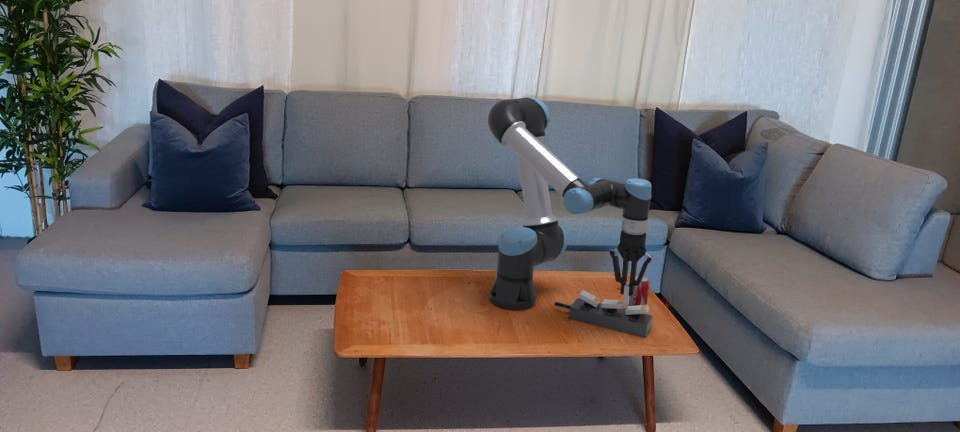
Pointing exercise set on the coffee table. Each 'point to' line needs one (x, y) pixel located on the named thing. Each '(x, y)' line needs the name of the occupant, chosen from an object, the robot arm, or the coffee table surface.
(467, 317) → the coffee table surface
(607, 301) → the block
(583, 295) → the block
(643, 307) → the block
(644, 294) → the beverage can
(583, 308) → the power strip
